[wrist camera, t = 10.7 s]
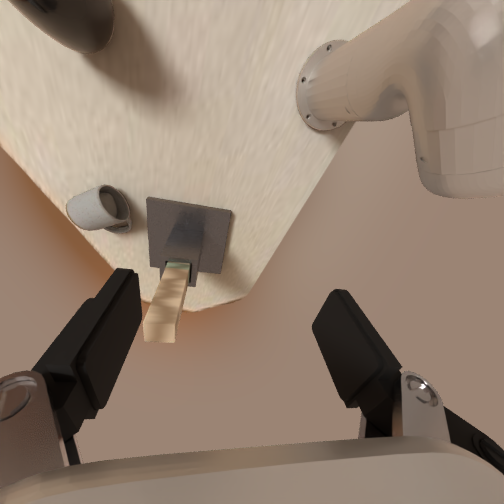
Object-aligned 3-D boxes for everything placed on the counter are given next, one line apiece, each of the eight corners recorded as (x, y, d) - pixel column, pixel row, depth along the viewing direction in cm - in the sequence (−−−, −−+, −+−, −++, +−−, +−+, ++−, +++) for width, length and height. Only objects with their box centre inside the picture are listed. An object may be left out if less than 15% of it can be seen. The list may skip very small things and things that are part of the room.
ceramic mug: (77, 193, 42) (51, 207, 36) (111, 179, 41) (91, 191, 35) (113, 235, 48) (96, 253, 41) (144, 223, 47) (131, 239, 41)
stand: (230, 210, 47) (232, 238, 36) (220, 270, 57) (219, 307, 45) (148, 196, 44) (121, 223, 32) (151, 263, 53) (131, 301, 42)
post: (193, 250, 43) (175, 324, 27) (192, 265, 45) (174, 342, 29) (173, 247, 42) (142, 323, 26) (173, 263, 44) (144, 341, 28)
